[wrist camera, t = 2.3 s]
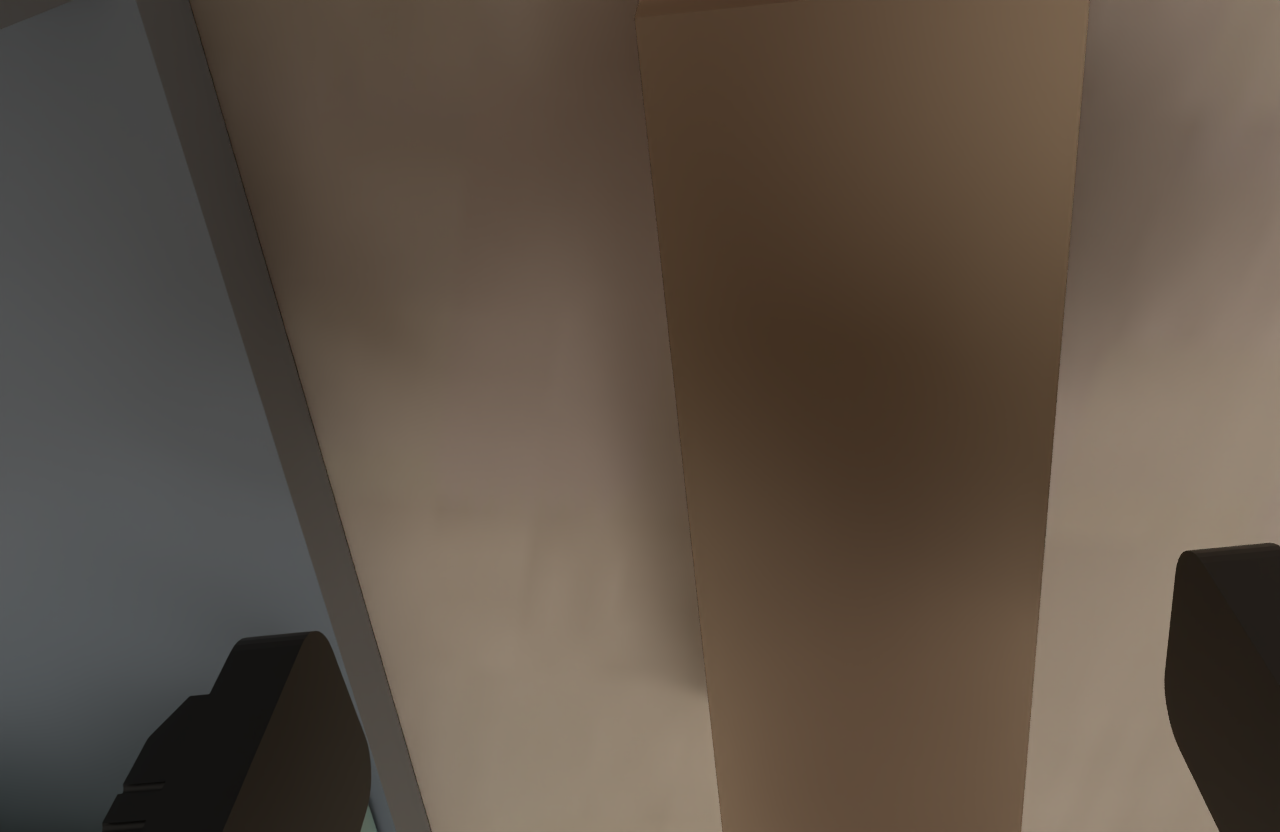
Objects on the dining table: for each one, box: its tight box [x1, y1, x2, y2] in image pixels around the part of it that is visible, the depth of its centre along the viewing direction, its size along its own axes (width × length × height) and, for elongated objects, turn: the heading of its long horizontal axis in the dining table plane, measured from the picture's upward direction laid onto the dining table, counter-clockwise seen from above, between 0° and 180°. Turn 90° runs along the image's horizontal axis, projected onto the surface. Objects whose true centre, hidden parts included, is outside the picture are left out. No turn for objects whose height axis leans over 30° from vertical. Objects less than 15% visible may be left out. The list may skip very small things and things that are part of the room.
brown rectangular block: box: [635, 0, 1090, 832], centre depth 13 cm, size 4×11×4 cm, turn 6°
